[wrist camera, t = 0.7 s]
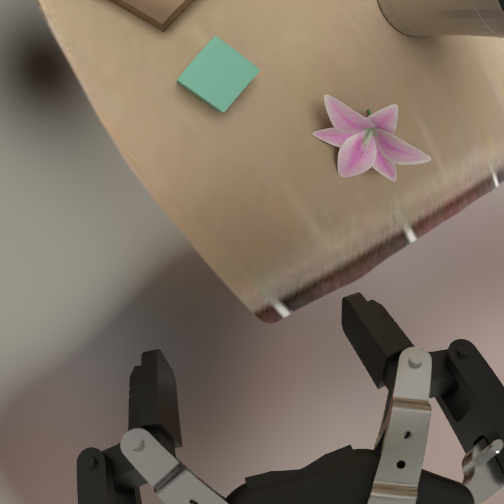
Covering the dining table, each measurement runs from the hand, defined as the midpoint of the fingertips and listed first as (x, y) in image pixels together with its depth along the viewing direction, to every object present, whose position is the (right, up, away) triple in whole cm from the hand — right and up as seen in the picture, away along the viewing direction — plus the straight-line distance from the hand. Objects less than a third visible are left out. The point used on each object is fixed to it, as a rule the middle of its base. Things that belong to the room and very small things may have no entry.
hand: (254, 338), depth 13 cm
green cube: (-4, +21, +14) cm, 25 cm away
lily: (+11, +17, +20) cm, 29 cm away
